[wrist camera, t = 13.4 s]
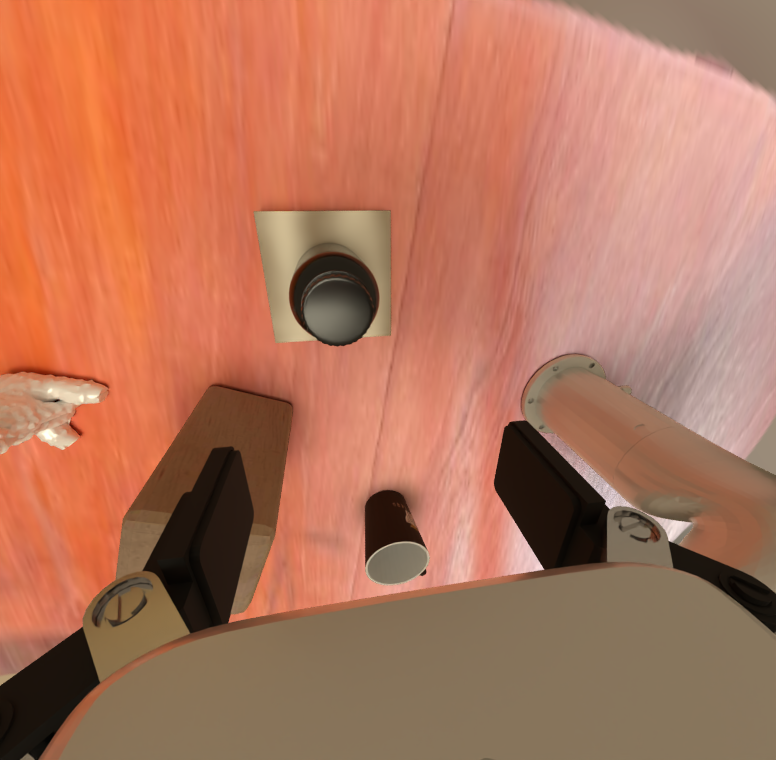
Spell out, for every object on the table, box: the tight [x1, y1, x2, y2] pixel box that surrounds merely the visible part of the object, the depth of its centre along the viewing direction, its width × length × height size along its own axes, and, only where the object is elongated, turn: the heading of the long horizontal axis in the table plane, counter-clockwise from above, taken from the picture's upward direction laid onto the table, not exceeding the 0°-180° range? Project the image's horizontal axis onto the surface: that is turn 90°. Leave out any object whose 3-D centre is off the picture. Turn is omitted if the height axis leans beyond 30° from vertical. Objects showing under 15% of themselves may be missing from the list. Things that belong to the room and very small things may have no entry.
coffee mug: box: [365, 490, 430, 585], centre depth 49 cm, size 12×9×10 cm
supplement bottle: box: [289, 243, 380, 346], centre depth 27 cm, size 7×7×12 cm
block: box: [116, 386, 293, 614], centre depth 33 cm, size 10×10×20 cm
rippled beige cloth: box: [254, 211, 391, 343], centre depth 34 cm, size 12×12×4 cm
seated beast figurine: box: [0, 372, 109, 454], centre depth 31 cm, size 10×9×12 cm
